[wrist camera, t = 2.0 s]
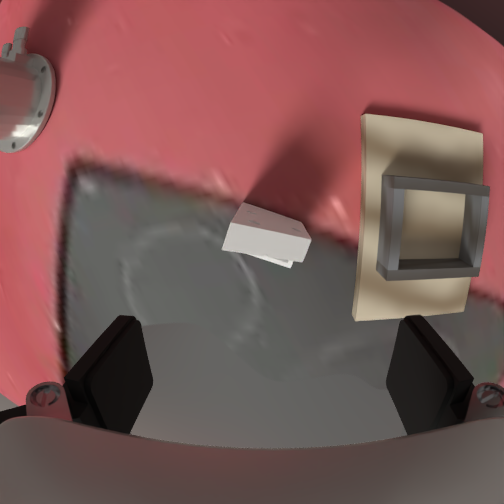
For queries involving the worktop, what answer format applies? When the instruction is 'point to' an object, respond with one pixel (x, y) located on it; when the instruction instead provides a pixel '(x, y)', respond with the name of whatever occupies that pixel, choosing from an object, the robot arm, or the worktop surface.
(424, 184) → the board
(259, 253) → the white wedge bracket
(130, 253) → the worktop surface
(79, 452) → the robot arm
